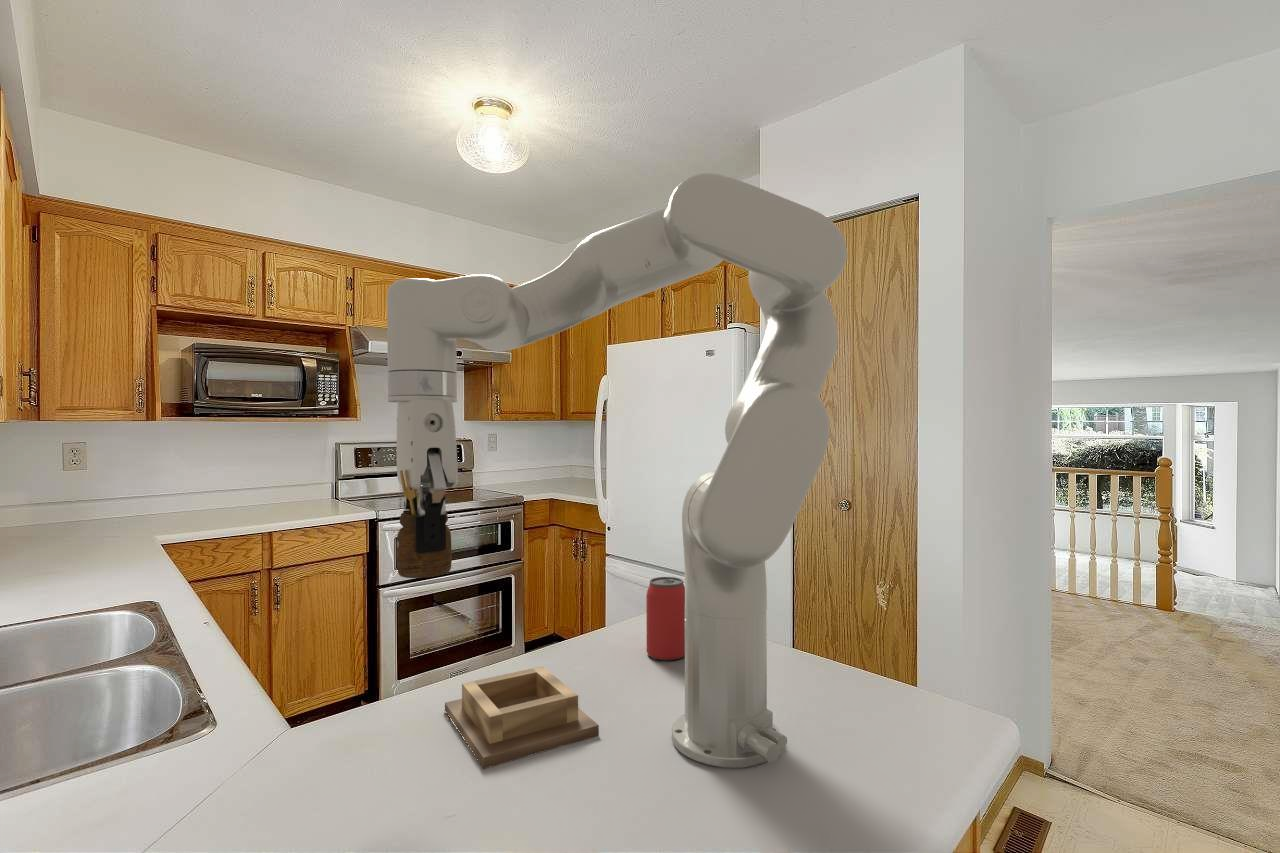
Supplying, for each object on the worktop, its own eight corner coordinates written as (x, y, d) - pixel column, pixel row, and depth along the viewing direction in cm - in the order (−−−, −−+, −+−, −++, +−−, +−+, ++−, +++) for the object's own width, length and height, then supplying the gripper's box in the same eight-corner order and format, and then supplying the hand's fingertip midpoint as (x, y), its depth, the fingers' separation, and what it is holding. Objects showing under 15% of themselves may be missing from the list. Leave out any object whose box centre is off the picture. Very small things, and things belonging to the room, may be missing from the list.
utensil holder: (462, 568, 74) (460, 467, 74) (430, 580, 68) (429, 469, 68) (418, 567, 75) (416, 467, 76) (384, 578, 69) (382, 470, 70)
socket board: (598, 735, 75) (598, 699, 75) (483, 768, 67) (483, 729, 67) (545, 688, 88) (545, 658, 88) (444, 711, 81) (444, 679, 81)
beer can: (694, 652, 102) (694, 579, 103) (674, 665, 97) (674, 587, 97) (659, 645, 106) (659, 574, 106) (638, 657, 100) (638, 582, 100)
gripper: (478, 385, 67) (479, 555, 66) (437, 394, 81) (438, 534, 81) (404, 383, 63) (405, 564, 62) (375, 393, 77) (376, 540, 77)
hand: (424, 545), depth 72 cm, fingers closed on utensil holder, 5 cm apart
